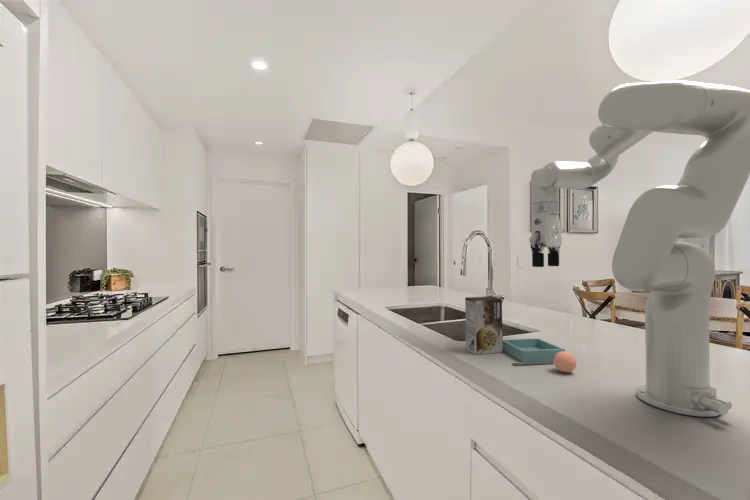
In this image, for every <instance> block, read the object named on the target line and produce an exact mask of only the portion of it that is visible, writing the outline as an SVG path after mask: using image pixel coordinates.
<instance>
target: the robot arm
mask: <svg viewBox="0 0 750 500" xmlns="http://www.w3.org/2000/svg"><path fill="white" fill-rule="evenodd" d="M597 117H598V119H599V121H600V123H601V124H598V126H597V127H595V128H594V129H593V130H592V131H591V133H590V134H589V137H588V143H589V146H590V148H591V149H592V151H593V152H594V153H595V154H594V155H593V156H591V157H590V158H588V159H587V160H585V161H571V160H570V161H567V160H554V161H551V162H548V163H547V164H546V165H544V166H543V167H542V168H538V169H535V170H533V171H532V172H531V174H530V175H531V176H530V184H531V185H530V189H531V191H530V192H531V194H530V195H531V197H530V199H531V216H532V219H531V231H530V232H531V233H530V234H531V235H530V236H529V243H530V245H529V246H530V249H531V251H530V252H531V257H532V258H531V261H532V262H531V263H532V264H531V267H532V268H544V266H545V253H544V252H543V251H544V249H545V248H547V250H548V253H547V266H548V267H559V266H560V251H561V250H560V248H561V247H562V240H563V239H562V227H561V226H562V225H561V219H560V189H563V190H565V189H566V190H567V189H568V190H569V189H570V190H584V189H588V188H589V187H592V186H594V185H595V184H597V183H598V182H600V181H602V180H603V179H605V178H606V177H608V176H609V175H610V174H611V173H612V172H613V170H614V169H615V167H616V166H617V163H618V159H619V156H620V155H622V154H623V153H625V152H626V151H628V150H629V149H631V147H633V146H635V145H636V144H637V143H639V142H641V141H643V139H645V138H646V137H648V136H649V135H651V134H652V133H653V132H655V133H665V134H676V135H677V134H678V135H686V136H687V135H690V136H691V135H693V136H700V137H701V136H702V137H704V138H705V141H704V142H703V143H702V144H700V146H698V148H697V149H696V150H695V151H694V152H693V153H692V155H690V158H688V160H687V162H686V165H685V167H684V170H683V173H682V176H681V177H680V180H679V182H678V183H677V184H676V185H671V184H670V185H659V186H656V187H655V186H654V187H652V188H649V189H648V190H646V191H644V192H643V193H641V194H640V195H639V196H638V197H637V199H636V200H635V201H634V202H633V204H632V205H631V206H630V208H629V211H628V214H627V216H626V219H625V221H624V224H623V227H622V231H621V233H620V235H619V239H618V240H617V241H618V242H617V245H616V247H615V250H614V253H613V256H612V257H613V258H612V262H611V271H612V275H613V277H614V279H615V282H617V283H618V284H619V286H622V287H623V288H624V289H627V290H629V291H633V292H650V293H649V296H648V298H647V300H646V303H645V309H644V336H645V337H644V342H645V344H644V345H645V346H644V347H645V355H644V356H645V357H644V358H645V361H644V362H645V384H642V385H639V386H638V387H636V389H635V391H636V396H637V397H638V398H639V399H640V400H641V401H643V402H645V403H647V404H648V405H651V406H653V407H656V408H659V409H661V410H664V411H668V412H672V413H675V414H681V415H686V416H693V417H702V418H704V417H705V418H710V417H711V418H712V417H717V416H720V415H721V416H726V415H727V414H728V413H729V410H730V409H732V408H733V407H732V406H733V405H732V402H731V401H728V400H726V399H723V398H720V397H718V396H717V387H713V386H711V374H710V373H711V370H710V369H711V367H710V366H711V365H710V364H711V363H710V362H711V361H710V355H711V354H710V305H711V297H712V291H713V287H714V281H715V276H716V264H715V260H714V258H713V257H712V255H711V254H710V253H709V252H708V251H707V249H705V248H703V247H701V246H700V245H697V244H695V243H694V244H693V243H690V242H686V241H685V242H684V241H677V240H678V239H704V238H709V237H712V236H715V235H717V234H719V233H721V231H722V230H723V229H724V228H725V227H726V226H727V224H728V222H729V220H730V219H731V217H732V214H733V212H734V210H735V207H736V205H737V204H738V201H739V199H740V196H741V195H742V192H743V191H744V188H745V186H746V184H747V182H748V180H749V176H750V90H748V89H745V88H741V87H737V86H731V85H725V84H716V83H707V82H706V83H705V82H698V81H691V80H664V81H651V82H649V81H648V82H632V83H631V82H630V83H625V84H624V83H623V84H620V85H619V86H616V87H615V88H613V89H611V90H610V91H609V92H608V93H607V94H606V95H605V96H604V97H603V99H602V101H601V102H600V104H599V107H598V109H597Z"/></svg>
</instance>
